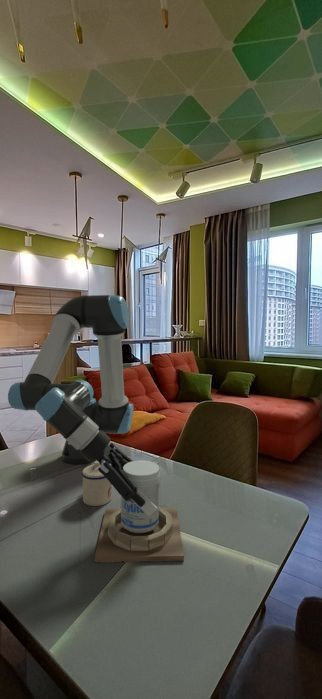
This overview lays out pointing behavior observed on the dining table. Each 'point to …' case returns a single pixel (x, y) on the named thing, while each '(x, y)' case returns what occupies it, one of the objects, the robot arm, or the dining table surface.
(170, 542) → the ring holder
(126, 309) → the robot arm
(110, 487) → the teacup with lid
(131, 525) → the supplement tub
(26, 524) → the dining table surface
